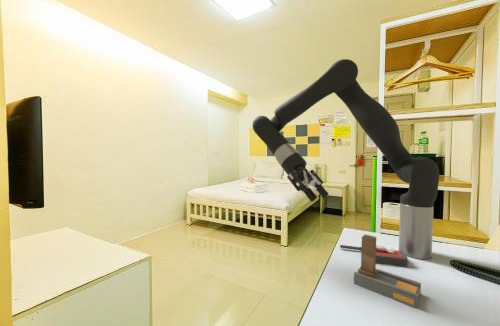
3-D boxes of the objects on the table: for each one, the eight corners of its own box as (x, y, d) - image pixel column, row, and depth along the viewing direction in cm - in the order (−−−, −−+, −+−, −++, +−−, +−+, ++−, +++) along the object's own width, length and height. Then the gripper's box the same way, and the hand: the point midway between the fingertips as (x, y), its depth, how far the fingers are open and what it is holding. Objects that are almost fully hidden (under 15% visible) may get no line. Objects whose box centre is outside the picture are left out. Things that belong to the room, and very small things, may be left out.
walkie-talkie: (402, 256, 75) (339, 248, 81) (402, 243, 75) (339, 236, 81) (412, 269, 67) (341, 259, 73) (413, 255, 67) (342, 246, 73)
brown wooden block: (362, 267, 62) (363, 233, 62) (378, 273, 59) (379, 237, 59) (357, 273, 59) (358, 237, 59) (374, 279, 57) (375, 241, 56)
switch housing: (362, 273, 64) (362, 263, 64) (420, 293, 54) (421, 282, 54) (353, 283, 59) (353, 273, 58) (416, 308, 49) (416, 296, 49)
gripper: (284, 151, 68) (318, 193, 61) (307, 152, 79) (338, 188, 71) (270, 167, 72) (301, 209, 65) (294, 166, 83) (322, 201, 75)
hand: (320, 198), depth 68 cm, fingers open, 7 cm apart
